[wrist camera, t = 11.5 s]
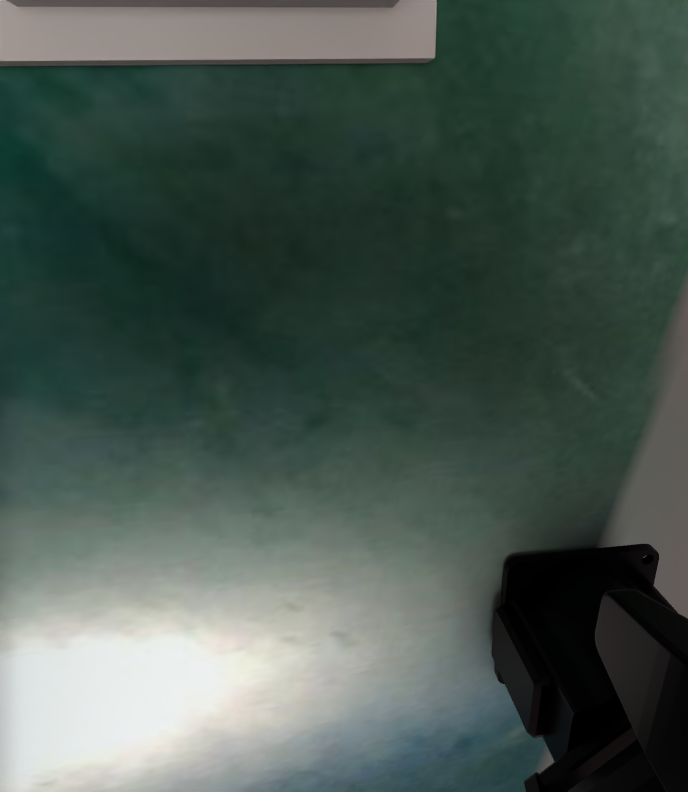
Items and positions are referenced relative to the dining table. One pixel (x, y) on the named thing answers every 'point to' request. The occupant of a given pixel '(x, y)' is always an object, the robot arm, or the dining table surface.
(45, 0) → the socket plate
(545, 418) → the dining table surface
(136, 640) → the dining table surface
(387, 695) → the dining table surface
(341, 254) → the dining table surface
